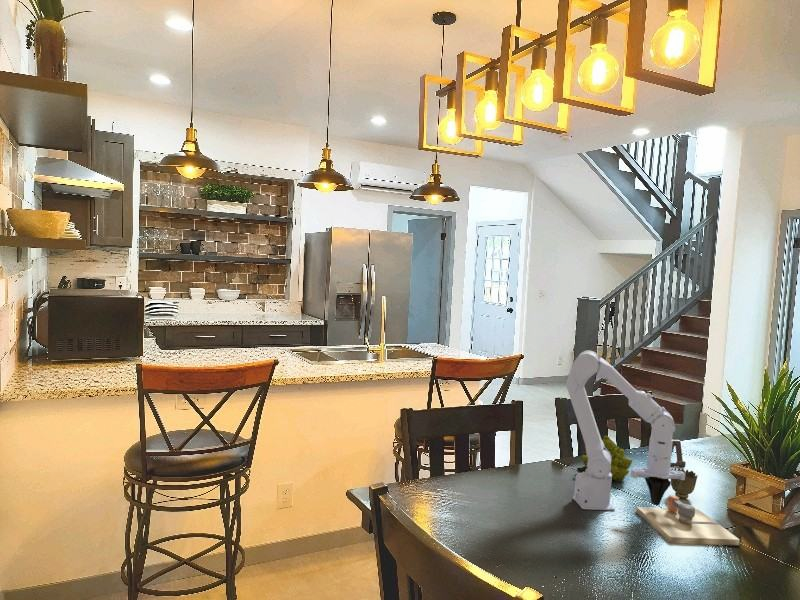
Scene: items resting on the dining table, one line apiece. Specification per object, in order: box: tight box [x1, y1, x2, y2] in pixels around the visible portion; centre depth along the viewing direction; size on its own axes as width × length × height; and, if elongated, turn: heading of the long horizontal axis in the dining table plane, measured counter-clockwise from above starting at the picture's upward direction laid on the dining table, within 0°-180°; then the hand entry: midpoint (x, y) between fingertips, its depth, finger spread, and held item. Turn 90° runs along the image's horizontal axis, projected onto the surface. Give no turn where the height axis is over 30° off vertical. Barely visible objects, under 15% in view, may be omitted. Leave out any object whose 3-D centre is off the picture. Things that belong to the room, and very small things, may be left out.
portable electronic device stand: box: [670, 439, 686, 468], centre depth 207 cm, size 9×8×8 cm
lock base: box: [636, 506, 740, 546], centre depth 153 cm, size 18×18×4 cm
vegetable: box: [576, 435, 633, 482], centre depth 188 cm, size 15×16×15 cm
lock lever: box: [666, 494, 696, 518], centre depth 156 cm, size 10×4×4 cm, turn 3°
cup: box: [670, 467, 699, 500], centre depth 174 cm, size 8×7×8 cm
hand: (655, 503), depth 159 cm, fingers closed
